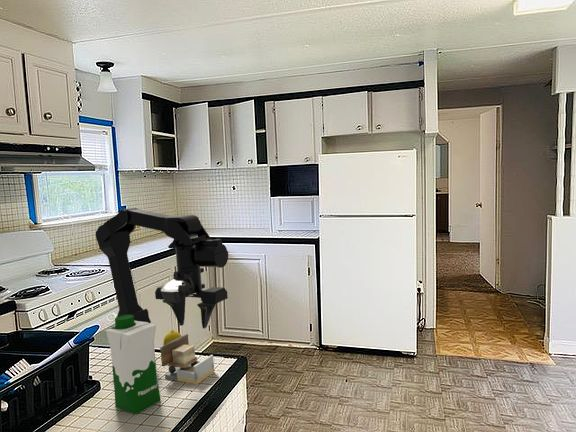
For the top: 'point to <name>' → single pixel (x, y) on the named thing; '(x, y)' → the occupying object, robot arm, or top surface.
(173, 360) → the trolley
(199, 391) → the top surface
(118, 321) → the milk carton
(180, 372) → the dock
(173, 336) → the lemon
